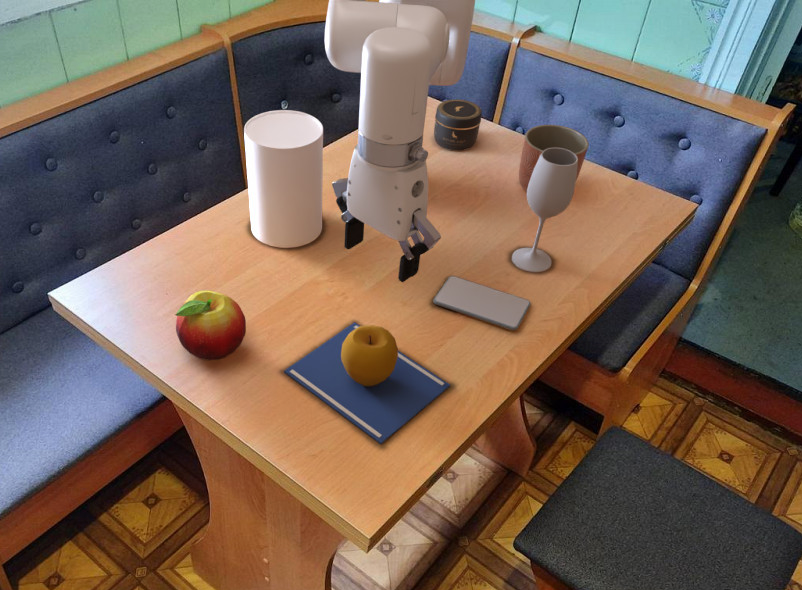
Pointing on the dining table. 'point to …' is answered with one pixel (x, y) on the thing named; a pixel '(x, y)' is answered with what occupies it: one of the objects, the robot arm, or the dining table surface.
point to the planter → (549, 138)
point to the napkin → (367, 389)
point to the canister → (285, 177)
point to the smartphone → (482, 302)
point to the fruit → (210, 325)
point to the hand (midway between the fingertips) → (380, 260)
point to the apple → (369, 354)
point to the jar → (457, 124)
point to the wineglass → (547, 200)
